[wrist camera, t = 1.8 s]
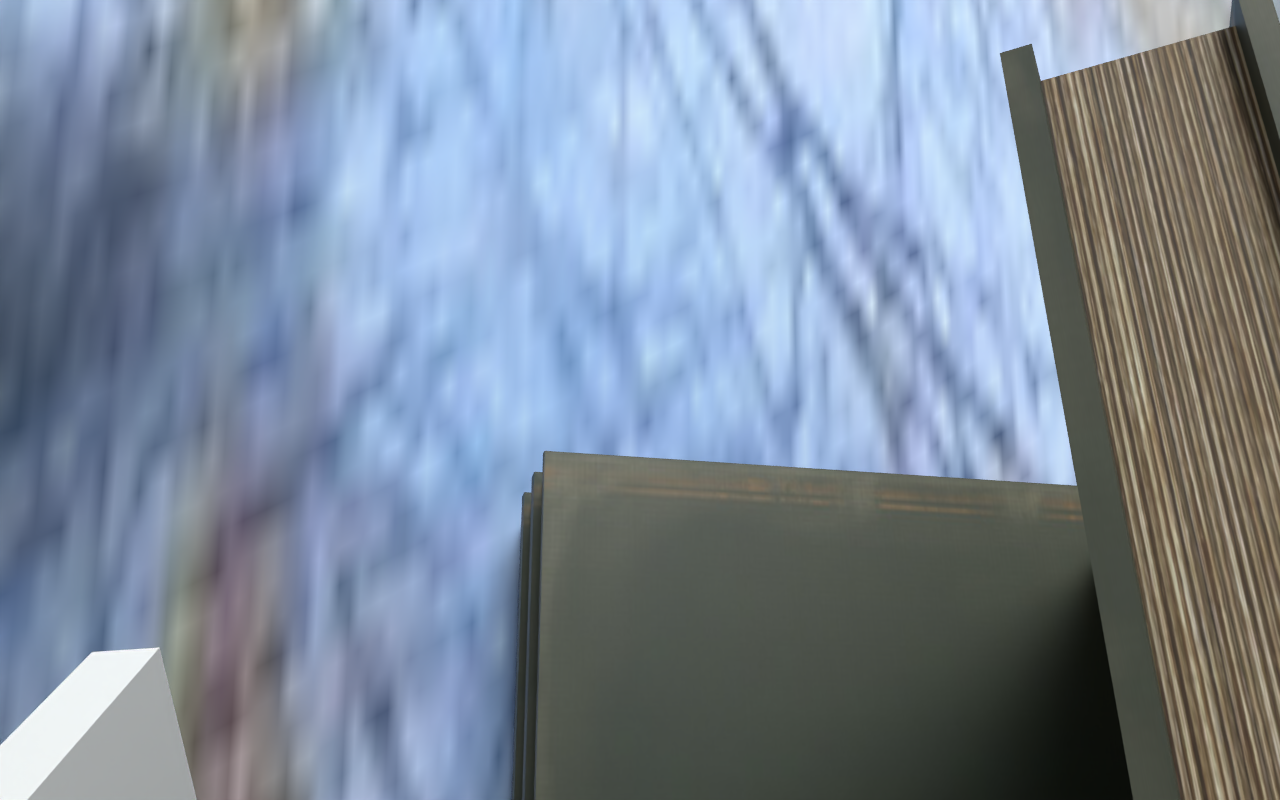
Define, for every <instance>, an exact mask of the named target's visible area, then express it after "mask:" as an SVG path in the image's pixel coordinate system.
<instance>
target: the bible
mask: <svg viewBox="0 0 1280 800" xmlns="http://www.w3.org/2000/svg"><path fill="white" fill-rule="evenodd" d="M1000 56H1001V62H1002V68H1003V73H1004V79H1005V84H1006V90H1007V95H1008V101H1009V107H1010V112H1011V118H1012V123H1013V129H1014V135H1015V140H1016V146H1017V151H1018V157H1019V163H1020V168H1021V174H1022V179H1023V185H1024V191H1025V196H1026V202H1027V207H1028V213H1029V219H1030V224H1031V230H1032V235H1033V241H1034V247H1035V252H1036V258H1037V263H1038V269H1039V275H1040V280H1041V286H1042V291H1043V297H1044V303H1045V308H1046V314H1047V319H1048V325H1049V331H1050V336H1051V342H1052V347H1053V353H1054V359H1055V364H1056V370H1057V375H1058V381H1059V387H1060V392H1061V398H1062V403H1063V409H1064V415H1065V420H1066V426H1067V431H1068V437H1069V443H1070V448H1071V454H1072V459H1073V465H1074V471H1075V476H1076V482H1077V486H1071V485H1056V484H1041V483H1026V482H1010V481H995V480H980V479H964V478H949V477H934V476H919V475H903V474H888V473H873V472H858V471H842V470H827V469H812V468H797V467H781V466H766V465H751V464H736V463H720V462H705V461H690V460H675V459H659V458H644V457H629V456H614V455H598V454H583V453H568V452H553V451H544V453H543V472H534V474H533V476H532V492H531V493H527V492H524V494H523V496H522V518H521V547H520V577H519V606H518V635H517V665H516V694H515V723H514V753H513V782H512V800H1280V23H1279V20H1278V16H1277V13H1276V10H1275V7H1274V4H1273V0H1232V7H1231V17H1230V27H1229V28H1226V29H1223V30H1219V31H1216V32H1212V33H1209V34H1205V35H1202V36H1198V37H1195V38H1191V39H1188V40H1184V41H1180V42H1177V43H1173V44H1170V45H1166V46H1163V47H1159V48H1156V49H1152V50H1149V51H1145V52H1142V53H1138V54H1135V55H1131V56H1128V57H1124V58H1121V59H1117V60H1114V61H1110V62H1106V63H1103V64H1099V65H1096V66H1092V67H1089V68H1085V69H1082V70H1078V71H1075V72H1071V73H1068V74H1064V75H1061V76H1057V77H1054V78H1050V79H1047V80H1043V81H1041V80H1040V76H1039V72H1038V68H1037V64H1036V60H1035V56H1034V51H1033V47H1032V44H1029V45H1026V46H1023V47H1019V48H1016V49H1013V50H1009V51H1006V52H1002V53H1000Z"/></svg>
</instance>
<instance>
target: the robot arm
mask: <svg viewBox="0 0 1280 800" xmlns="http://www.w3.org/2000/svg"><path fill="white" fill-rule="evenodd" d="M0 800H197V799H196V795H195V791H194V787H193V782H192V778H191V774H190V770H189V766H188V762H187V758H186V754H185V749H184V745H183V741H182V737H181V733H180V729H179V725H178V721H177V717H176V712H175V708H174V704H173V700H172V696H171V692H170V688H169V684H168V679H167V675H166V671H165V667H164V663H163V659H162V655H161V651H160V647H159V648H145V649H130V650H115V651H101V652H92V653H91V654H90V655H89V656H88V657H87V658H86V659H85V660H84V661H83V662H82V663H81V664H80V665H79V666H78V667H77V668H76V669H75V670H74V671H73V672H72V673H71V674H70V675H69V676H68V677H67V678H66V679H65V680H64V681H63V682H62V683H61V684H60V685H59V686H58V687H57V688H56V689H55V690H54V691H53V692H52V693H51V694H50V695H49V696H48V697H47V698H46V699H45V700H44V701H43V702H42V703H41V704H40V705H39V706H38V707H37V708H36V709H35V710H34V711H33V713H32V714H31V715H30V716H29V717H28V718H27V719H26V720H25V721H24V722H23V723H22V724H21V725H20V726H19V727H18V728H17V729H16V730H15V731H14V732H13V733H12V734H11V735H10V736H9V737H8V738H7V739H6V740H5V741H4V742H3V743H2V744H1V745H0Z"/></svg>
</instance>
